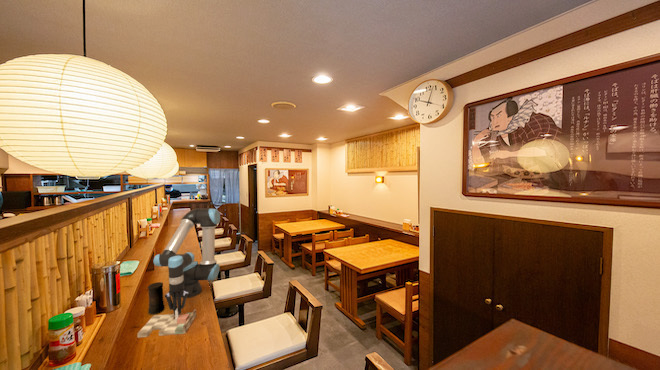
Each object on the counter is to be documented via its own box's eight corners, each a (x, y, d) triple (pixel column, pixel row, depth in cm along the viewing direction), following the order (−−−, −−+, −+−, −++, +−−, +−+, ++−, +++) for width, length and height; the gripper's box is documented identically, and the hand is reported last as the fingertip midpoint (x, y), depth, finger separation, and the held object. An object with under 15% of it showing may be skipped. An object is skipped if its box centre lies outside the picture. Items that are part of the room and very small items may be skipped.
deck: (153, 319, 157) (153, 312, 156) (196, 315, 161) (195, 309, 160) (137, 337, 140) (137, 330, 140) (185, 333, 144) (185, 326, 144)
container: (146, 311, 165) (145, 285, 164) (162, 305, 172) (161, 280, 170) (150, 316, 159) (148, 289, 158) (166, 310, 166) (165, 285, 164)
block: (180, 319, 153) (180, 314, 153) (189, 318, 154) (189, 313, 154) (177, 324, 148) (176, 319, 148) (186, 323, 149) (185, 318, 149)
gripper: (161, 285, 144) (162, 324, 146) (185, 284, 146) (186, 322, 148) (167, 280, 152) (169, 316, 153) (190, 278, 154) (191, 315, 156)
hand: (177, 319), depth 151 cm, fingers closed
